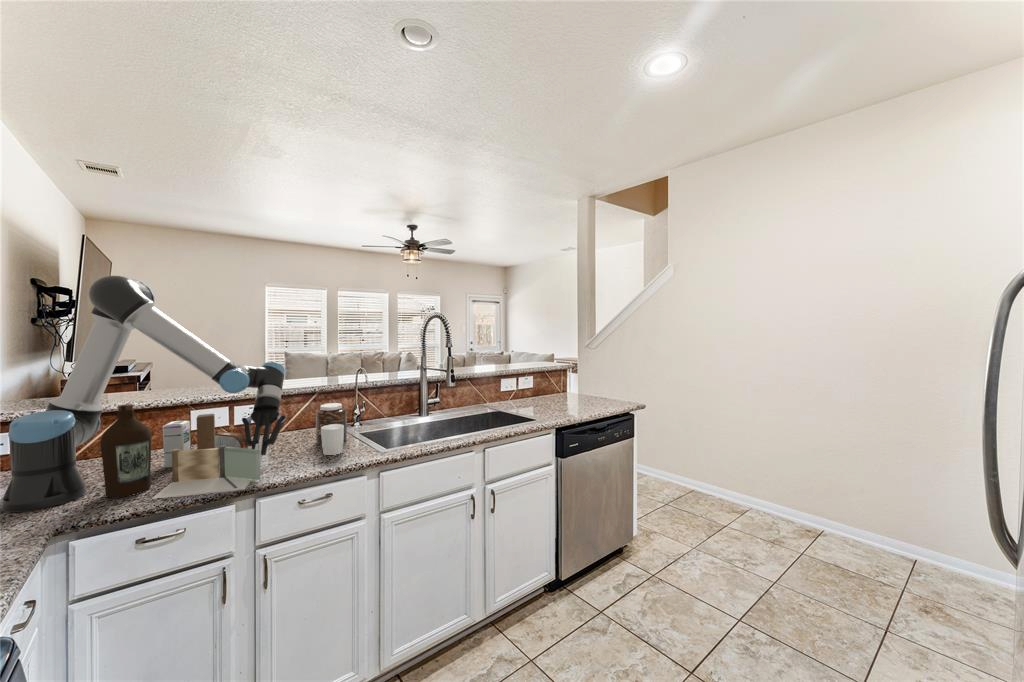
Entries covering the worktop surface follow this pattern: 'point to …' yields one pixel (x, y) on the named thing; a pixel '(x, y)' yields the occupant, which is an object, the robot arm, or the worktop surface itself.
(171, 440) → the syrup box
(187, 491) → the card
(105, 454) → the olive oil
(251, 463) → the hinged fence section
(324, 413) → the jar
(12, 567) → the worktop surface
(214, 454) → the fixed fence section
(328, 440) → the white cup
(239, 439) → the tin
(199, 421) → the wooden block
